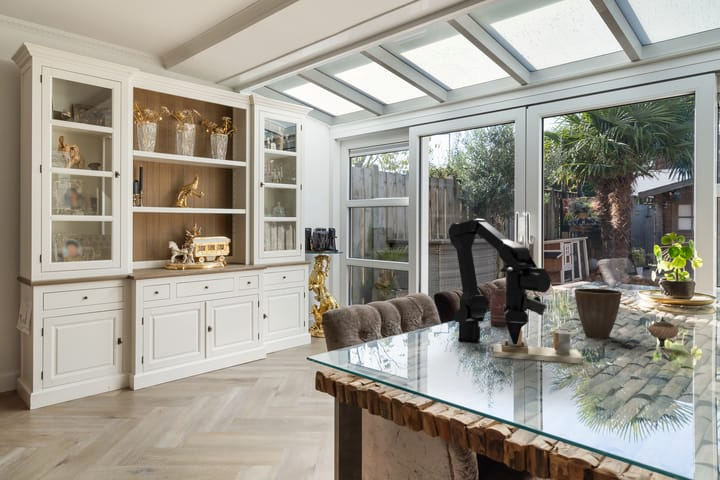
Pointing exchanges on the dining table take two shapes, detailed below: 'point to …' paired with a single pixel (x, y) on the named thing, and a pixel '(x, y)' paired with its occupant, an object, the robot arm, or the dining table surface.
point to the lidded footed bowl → (663, 331)
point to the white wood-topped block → (519, 343)
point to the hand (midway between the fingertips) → (514, 340)
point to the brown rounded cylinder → (497, 307)
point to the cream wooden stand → (541, 350)
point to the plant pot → (597, 310)
